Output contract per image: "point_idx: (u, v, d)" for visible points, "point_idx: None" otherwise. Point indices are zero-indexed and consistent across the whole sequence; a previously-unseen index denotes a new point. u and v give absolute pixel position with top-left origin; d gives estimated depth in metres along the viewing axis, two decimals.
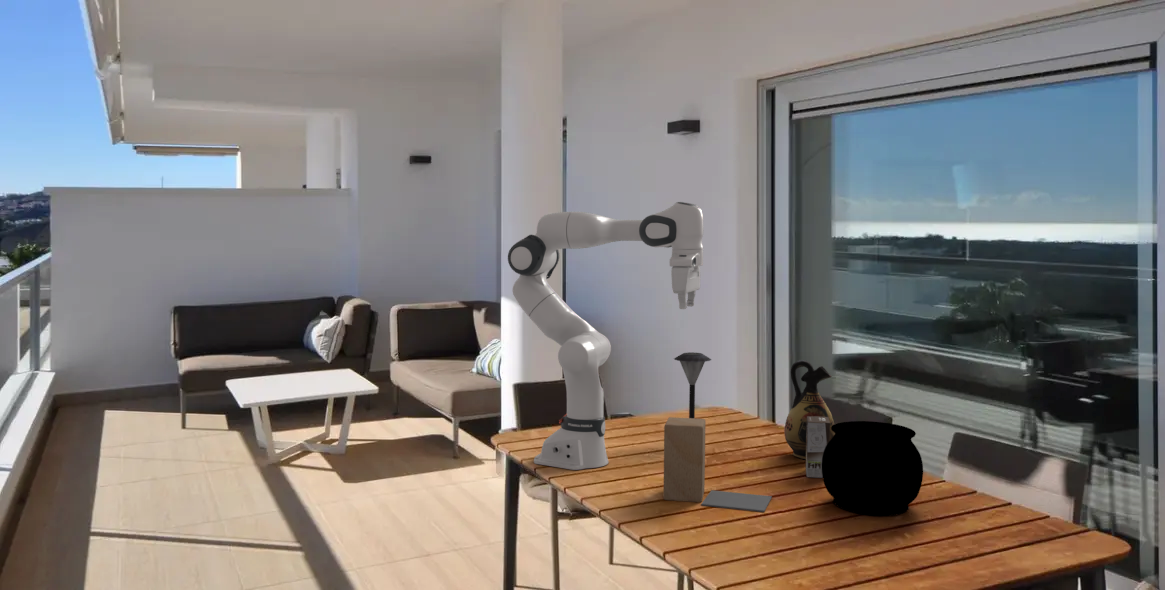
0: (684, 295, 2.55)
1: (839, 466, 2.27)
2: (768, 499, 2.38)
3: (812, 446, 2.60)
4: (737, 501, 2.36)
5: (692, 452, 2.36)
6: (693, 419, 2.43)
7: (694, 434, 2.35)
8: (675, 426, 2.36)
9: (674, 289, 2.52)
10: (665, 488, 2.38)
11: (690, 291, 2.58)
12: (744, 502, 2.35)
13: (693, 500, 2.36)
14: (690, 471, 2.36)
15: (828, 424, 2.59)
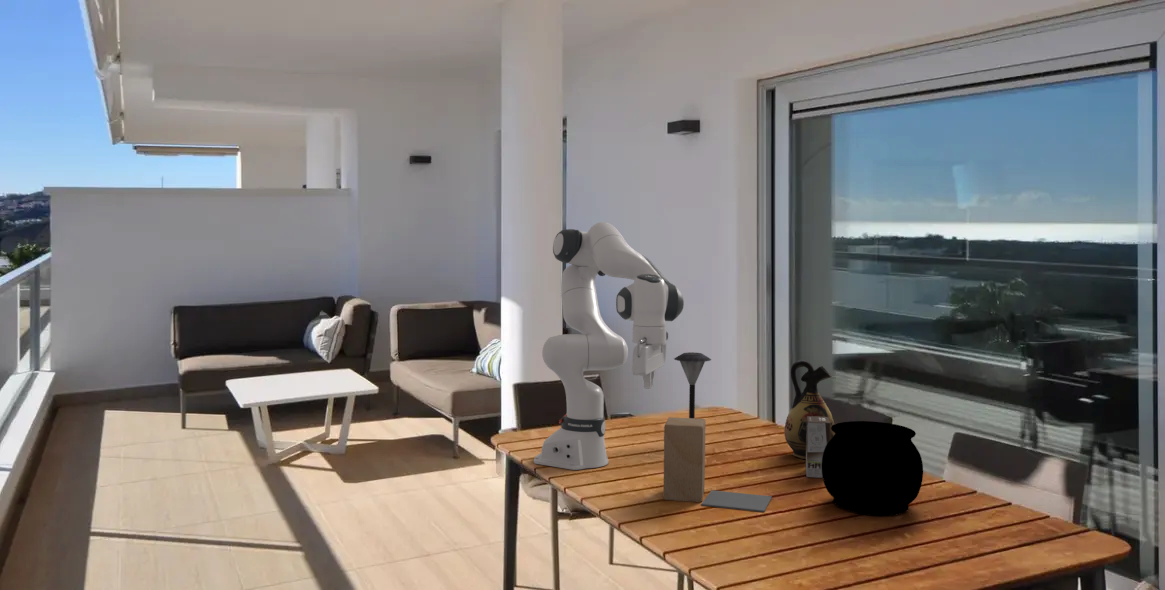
0: None
1: (839, 465, 2.27)
2: (768, 499, 2.38)
3: (812, 446, 2.60)
4: (737, 501, 2.36)
5: (692, 452, 2.36)
6: (693, 419, 2.43)
7: (694, 434, 2.35)
8: (675, 426, 2.36)
9: None
10: (665, 488, 2.38)
11: None
12: (744, 502, 2.35)
13: (693, 500, 2.36)
14: (690, 471, 2.36)
15: (828, 424, 2.59)
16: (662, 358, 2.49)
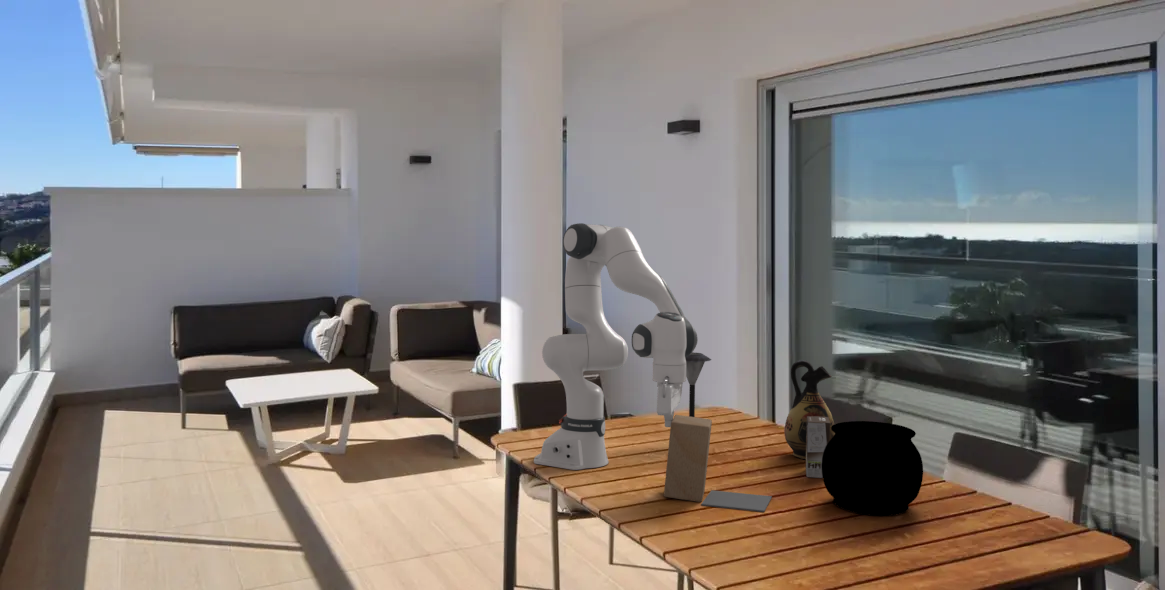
0: None
1: (839, 466, 2.27)
2: (768, 499, 2.38)
3: (812, 446, 2.60)
4: (737, 501, 2.36)
5: (696, 452, 2.35)
6: (700, 419, 2.43)
7: (700, 434, 2.35)
8: (682, 424, 2.36)
9: None
10: (666, 485, 2.38)
11: None
12: (744, 502, 2.35)
13: (693, 499, 2.36)
14: (692, 470, 2.36)
15: (828, 424, 2.59)
16: (679, 394, 2.49)
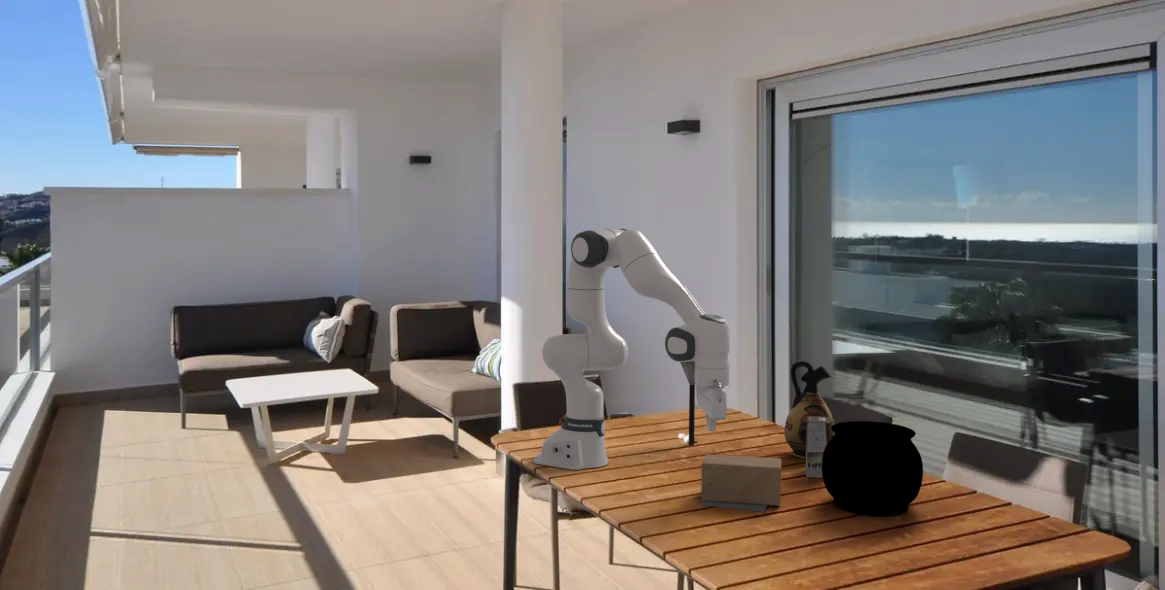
0: None
1: (839, 465, 2.27)
2: None
3: (812, 446, 2.60)
4: None
5: (752, 494, 2.33)
6: None
7: (771, 498, 2.32)
8: (779, 479, 2.31)
9: None
10: (714, 465, 2.35)
11: None
12: None
13: (703, 493, 2.36)
14: (733, 491, 2.34)
15: (828, 424, 2.59)
16: None
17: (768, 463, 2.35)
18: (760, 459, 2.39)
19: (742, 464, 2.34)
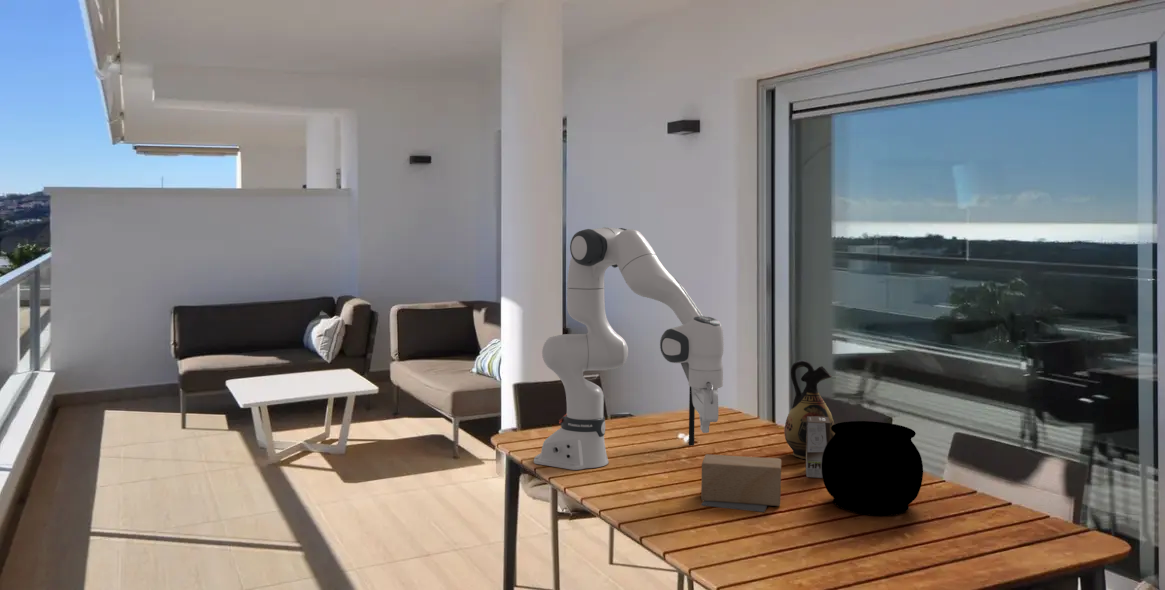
0: None
1: (839, 465, 2.27)
2: None
3: (812, 446, 2.60)
4: None
5: (752, 494, 2.33)
6: None
7: (771, 498, 2.32)
8: (779, 479, 2.31)
9: None
10: (714, 465, 2.35)
11: None
12: None
13: (703, 493, 2.36)
14: (733, 491, 2.34)
15: (828, 424, 2.59)
16: None
17: (768, 463, 2.35)
18: (760, 459, 2.39)
19: (742, 464, 2.34)
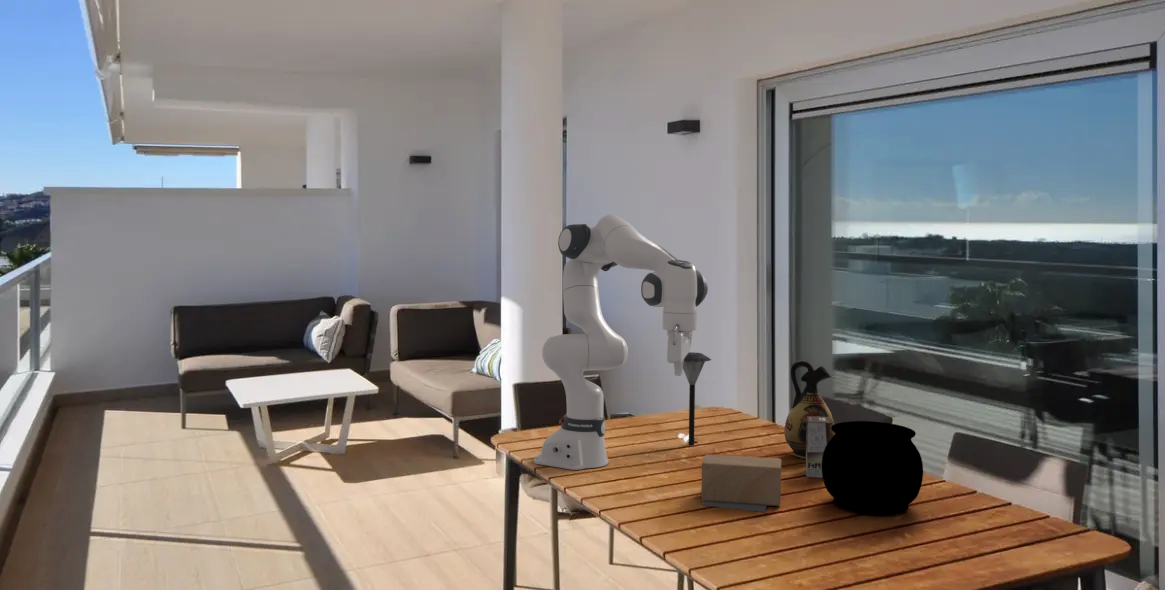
0: None
1: (839, 465, 2.27)
2: None
3: (812, 446, 2.60)
4: None
5: (752, 494, 2.33)
6: None
7: (771, 498, 2.32)
8: (779, 479, 2.31)
9: None
10: (714, 465, 2.35)
11: None
12: None
13: (703, 493, 2.36)
14: (733, 491, 2.34)
15: (828, 424, 2.59)
16: (689, 344, 2.47)
17: (768, 463, 2.35)
18: (760, 459, 2.39)
19: (742, 464, 2.34)
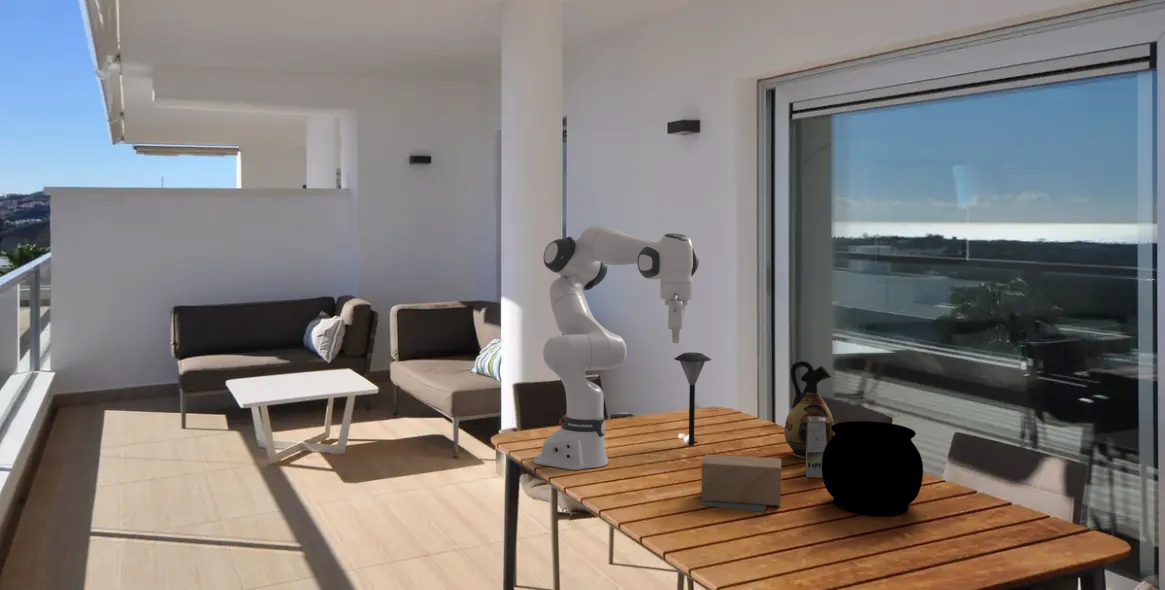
0: None
1: (839, 465, 2.27)
2: None
3: (812, 446, 2.60)
4: None
5: (752, 494, 2.33)
6: None
7: (771, 498, 2.32)
8: (779, 479, 2.31)
9: None
10: (714, 466, 2.35)
11: None
12: None
13: (703, 493, 2.36)
14: (733, 491, 2.34)
15: (828, 424, 2.59)
16: (683, 314, 2.60)
17: (768, 463, 2.35)
18: (760, 459, 2.39)
19: (742, 464, 2.34)
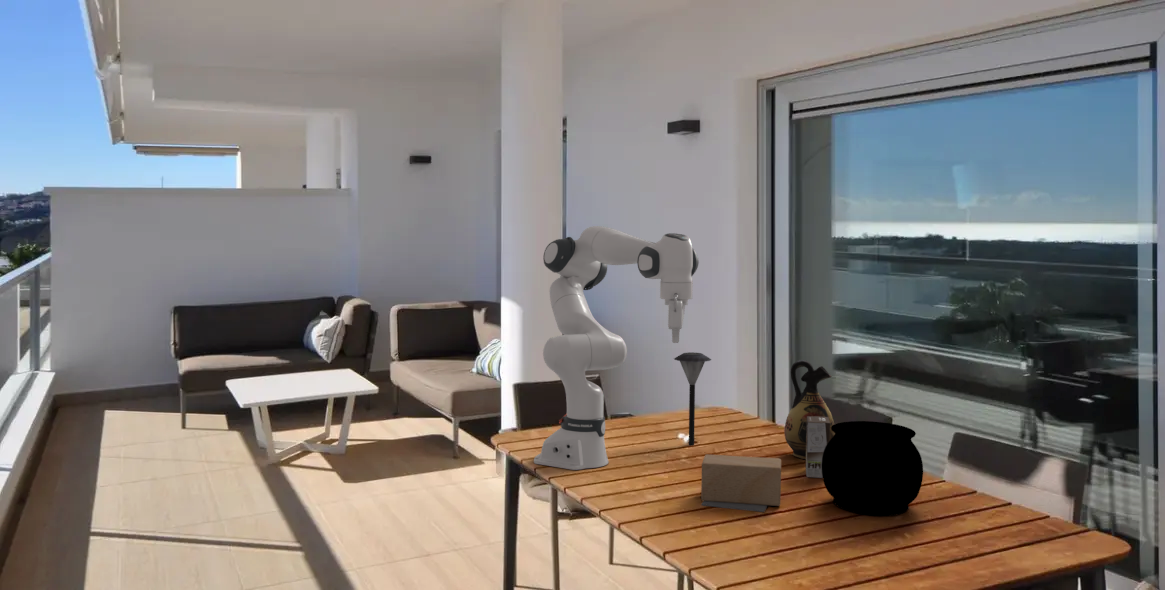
0: None
1: (839, 465, 2.27)
2: None
3: (812, 446, 2.60)
4: None
5: (752, 494, 2.33)
6: None
7: (771, 498, 2.32)
8: (779, 479, 2.31)
9: None
10: (714, 466, 2.35)
11: None
12: None
13: (703, 493, 2.36)
14: (733, 491, 2.34)
15: (828, 424, 2.59)
16: (683, 314, 2.60)
17: (768, 463, 2.35)
18: (760, 459, 2.39)
19: (742, 464, 2.34)
